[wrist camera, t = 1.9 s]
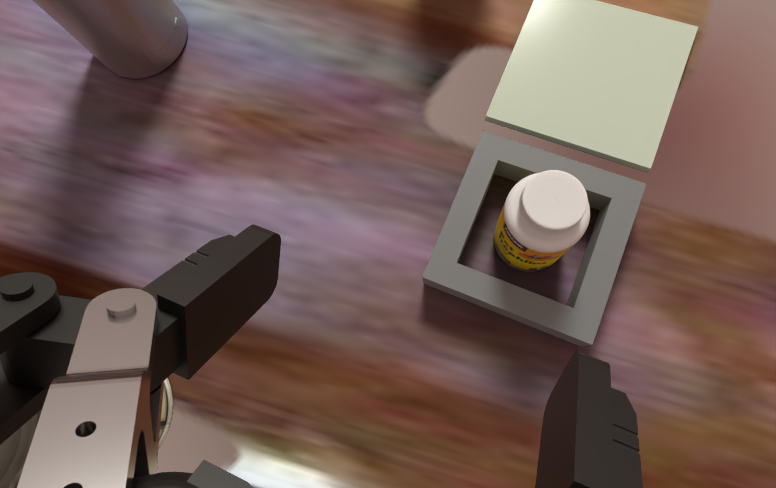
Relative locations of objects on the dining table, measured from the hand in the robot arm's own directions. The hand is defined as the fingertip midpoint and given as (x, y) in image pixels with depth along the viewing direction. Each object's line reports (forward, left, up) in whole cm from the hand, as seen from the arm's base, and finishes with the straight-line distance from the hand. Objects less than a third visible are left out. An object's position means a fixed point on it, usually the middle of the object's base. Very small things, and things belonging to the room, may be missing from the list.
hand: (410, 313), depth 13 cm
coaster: (+4, +27, -27) cm, 38 cm away
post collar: (+4, +11, -27) cm, 29 cm away
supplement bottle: (+4, +11, -27) cm, 30 cm away
